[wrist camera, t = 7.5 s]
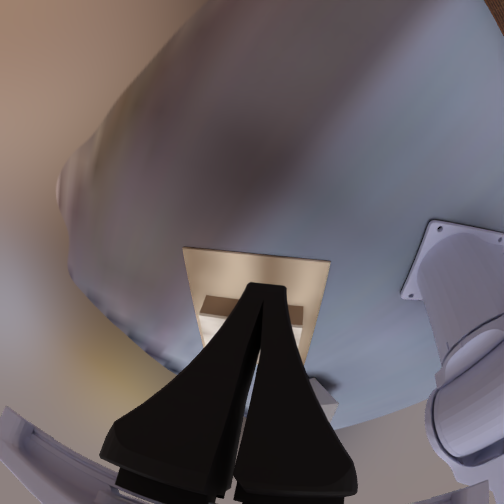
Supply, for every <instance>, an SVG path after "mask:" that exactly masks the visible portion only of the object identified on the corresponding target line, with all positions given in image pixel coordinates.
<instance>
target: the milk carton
mask: <svg viewBox="0 0 504 504" xmlns="http://www.w3.org/2000/svg"><path fill="white" fill-rule="evenodd" d="M484 1H485V3H486V5H487V6H488V8H489V10H490V11H491V13H492V15H493V17H494V19H495V20H496V22H497V24H498V26H499V28H500V30H501V32H502V34H503V36H504V0H484Z"/></svg>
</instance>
